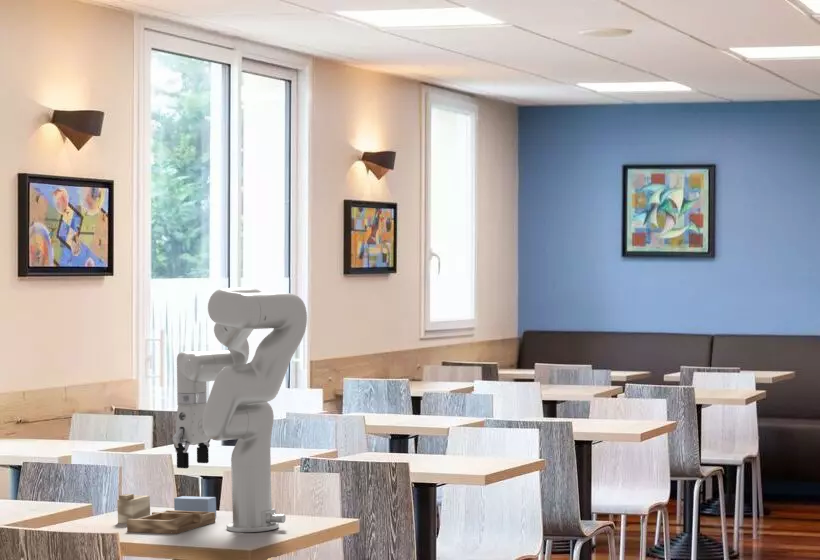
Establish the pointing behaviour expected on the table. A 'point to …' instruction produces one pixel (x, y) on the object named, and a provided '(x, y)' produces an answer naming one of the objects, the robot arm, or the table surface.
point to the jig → (170, 521)
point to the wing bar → (195, 504)
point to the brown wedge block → (132, 507)
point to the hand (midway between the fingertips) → (192, 465)
